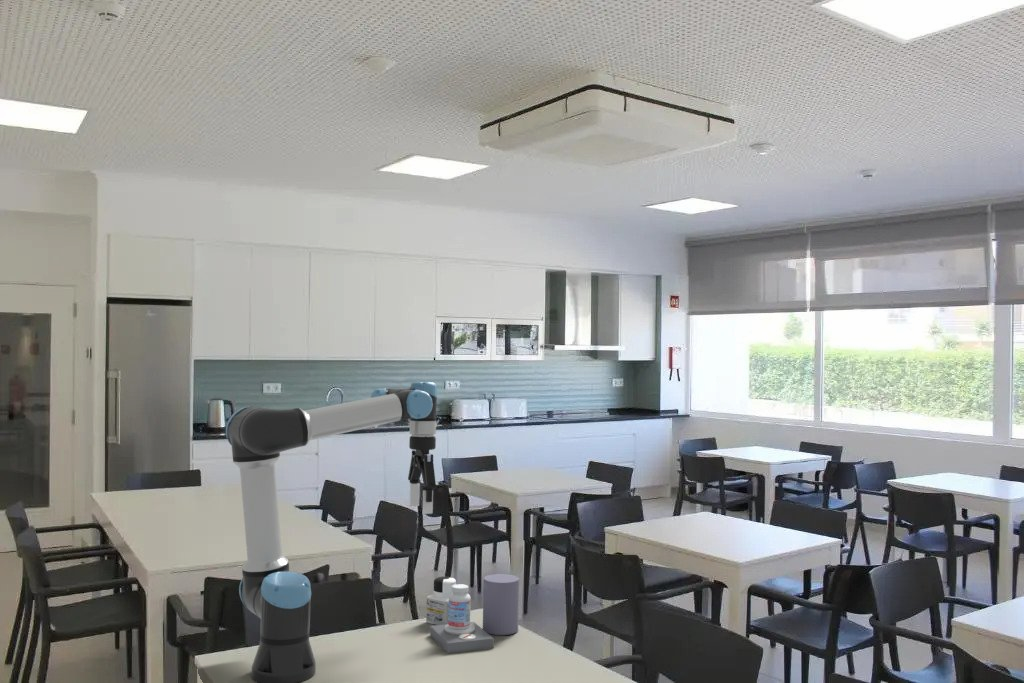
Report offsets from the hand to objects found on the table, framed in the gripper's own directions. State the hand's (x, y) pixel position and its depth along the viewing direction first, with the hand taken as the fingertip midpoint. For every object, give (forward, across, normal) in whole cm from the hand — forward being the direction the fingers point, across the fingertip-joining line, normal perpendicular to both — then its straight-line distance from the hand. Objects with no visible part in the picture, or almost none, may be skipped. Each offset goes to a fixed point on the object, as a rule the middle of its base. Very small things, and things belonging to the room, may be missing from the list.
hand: (420, 509), depth 243 cm
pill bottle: (+31, -10, -9) cm, 34 cm away
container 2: (+35, -6, -23) cm, 42 cm away
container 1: (+35, +7, -10) cm, 37 cm away
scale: (+35, -12, -9) cm, 38 cm away
